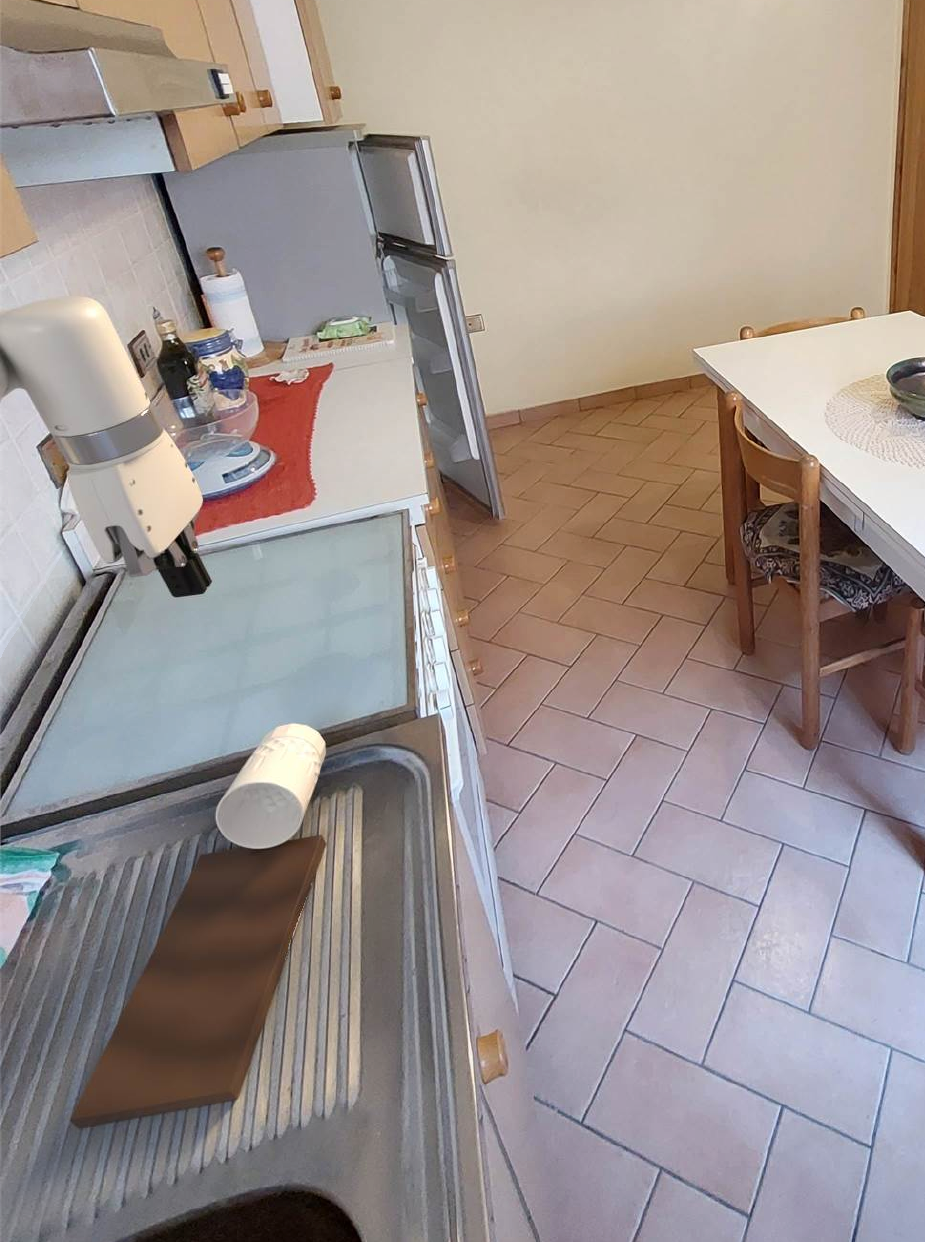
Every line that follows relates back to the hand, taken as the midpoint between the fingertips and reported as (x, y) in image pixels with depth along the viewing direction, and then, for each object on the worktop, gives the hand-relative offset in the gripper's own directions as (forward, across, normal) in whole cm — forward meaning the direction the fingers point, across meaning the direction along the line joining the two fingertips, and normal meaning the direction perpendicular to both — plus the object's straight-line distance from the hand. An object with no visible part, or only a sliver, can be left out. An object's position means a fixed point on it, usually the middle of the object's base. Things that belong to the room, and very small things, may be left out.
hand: (193, 590), depth 77 cm
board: (+24, +24, +4) cm, 34 cm away
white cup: (+21, +3, +4) cm, 21 cm away
